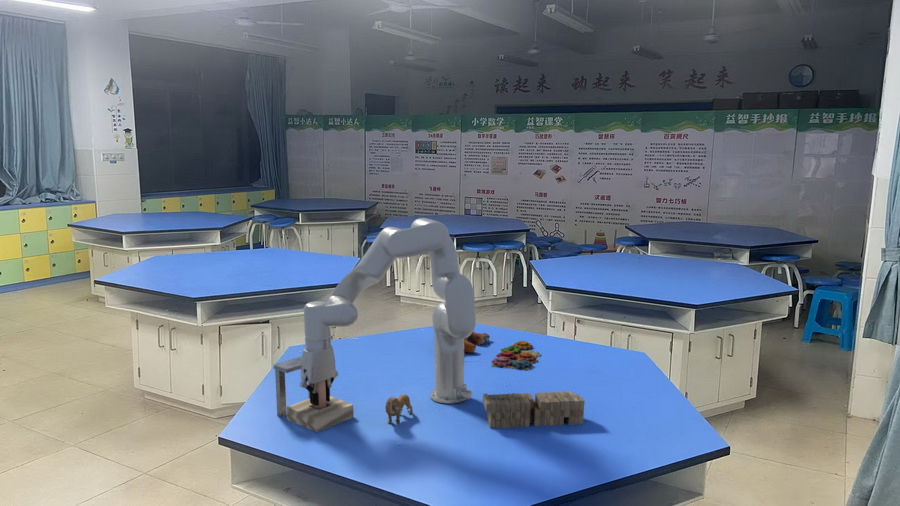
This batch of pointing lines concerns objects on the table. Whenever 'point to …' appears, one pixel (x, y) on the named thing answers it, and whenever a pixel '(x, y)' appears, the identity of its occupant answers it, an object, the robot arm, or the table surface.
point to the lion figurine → (397, 407)
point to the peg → (321, 395)
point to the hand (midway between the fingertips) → (320, 401)
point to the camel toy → (475, 341)
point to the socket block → (320, 414)
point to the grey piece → (280, 382)
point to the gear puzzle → (516, 357)
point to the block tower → (533, 409)
